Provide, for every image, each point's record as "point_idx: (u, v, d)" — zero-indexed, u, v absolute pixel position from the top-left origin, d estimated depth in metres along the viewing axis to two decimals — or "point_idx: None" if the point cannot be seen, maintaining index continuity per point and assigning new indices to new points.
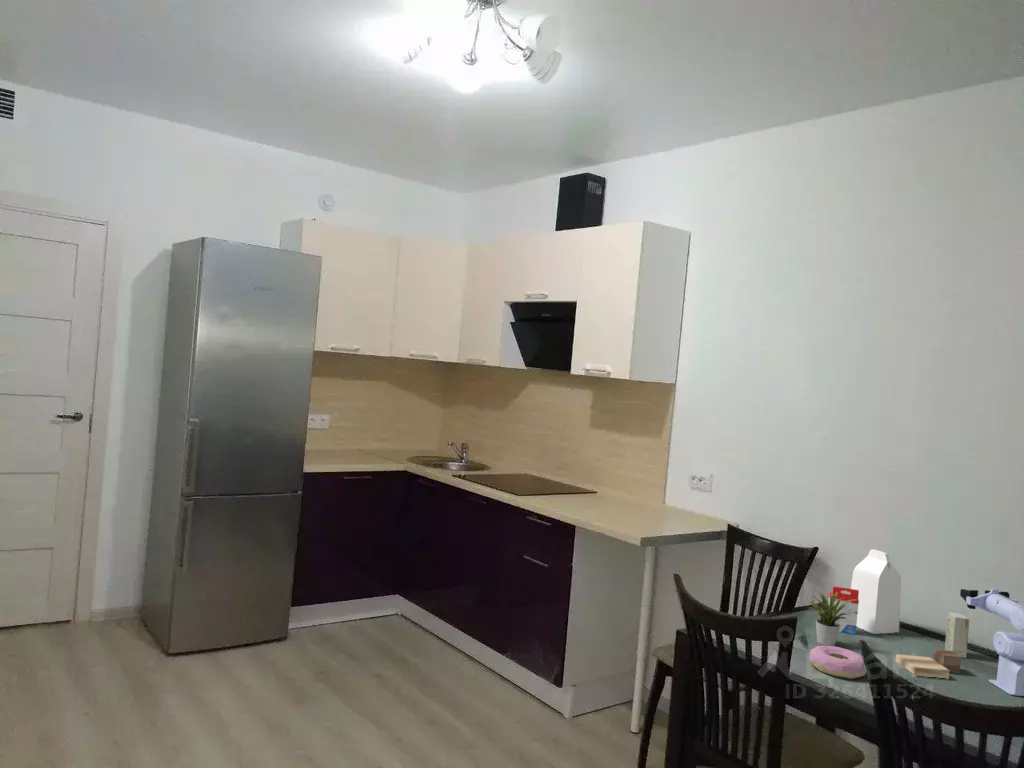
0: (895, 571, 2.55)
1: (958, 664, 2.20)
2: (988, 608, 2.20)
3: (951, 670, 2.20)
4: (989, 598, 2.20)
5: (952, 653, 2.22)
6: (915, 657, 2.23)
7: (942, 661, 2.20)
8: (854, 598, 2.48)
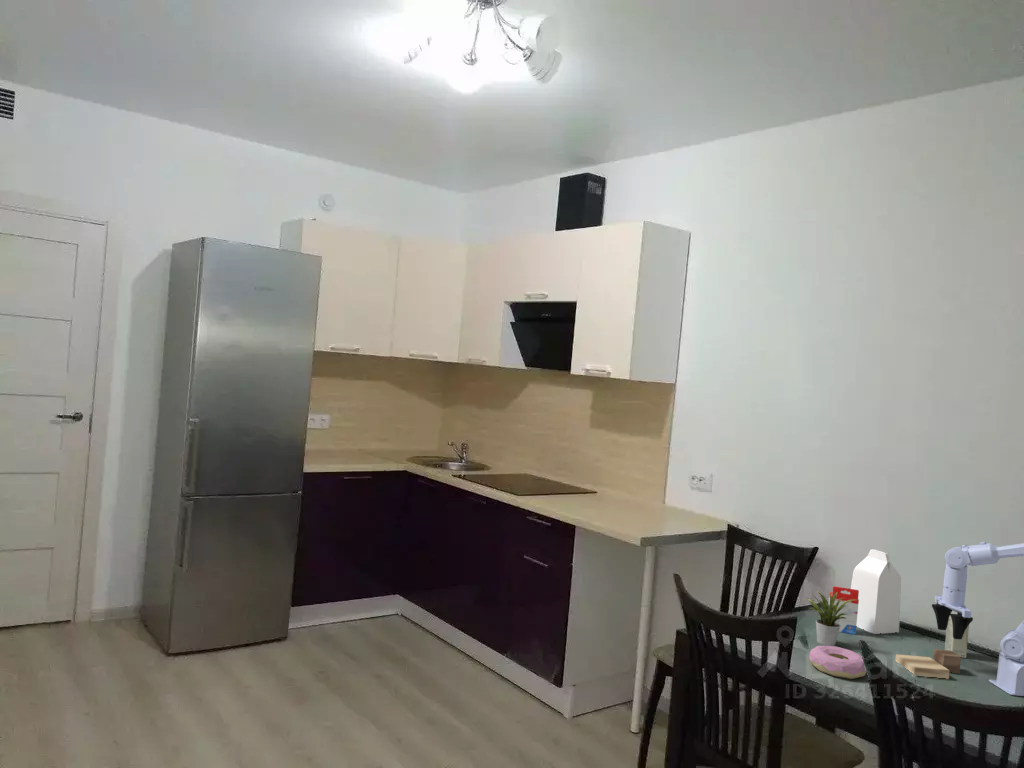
0: (895, 571, 2.55)
1: (958, 664, 2.20)
2: (962, 602, 2.19)
3: (951, 670, 2.20)
4: (952, 601, 2.20)
5: (952, 653, 2.22)
6: (915, 657, 2.23)
7: (942, 661, 2.20)
8: (854, 598, 2.48)
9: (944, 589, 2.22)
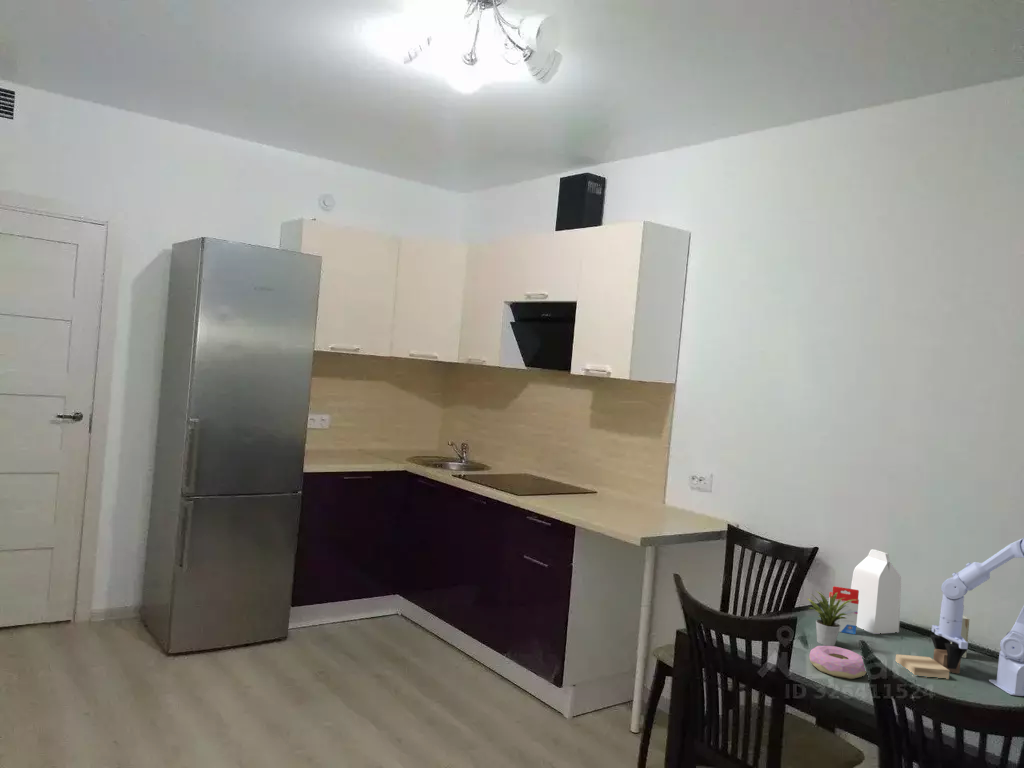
0: (895, 571, 2.55)
1: (958, 664, 2.20)
2: (959, 632, 2.20)
3: (951, 670, 2.20)
4: (949, 632, 2.20)
5: None
6: (915, 657, 2.23)
7: (942, 661, 2.20)
8: (854, 598, 2.48)
9: (941, 619, 2.22)
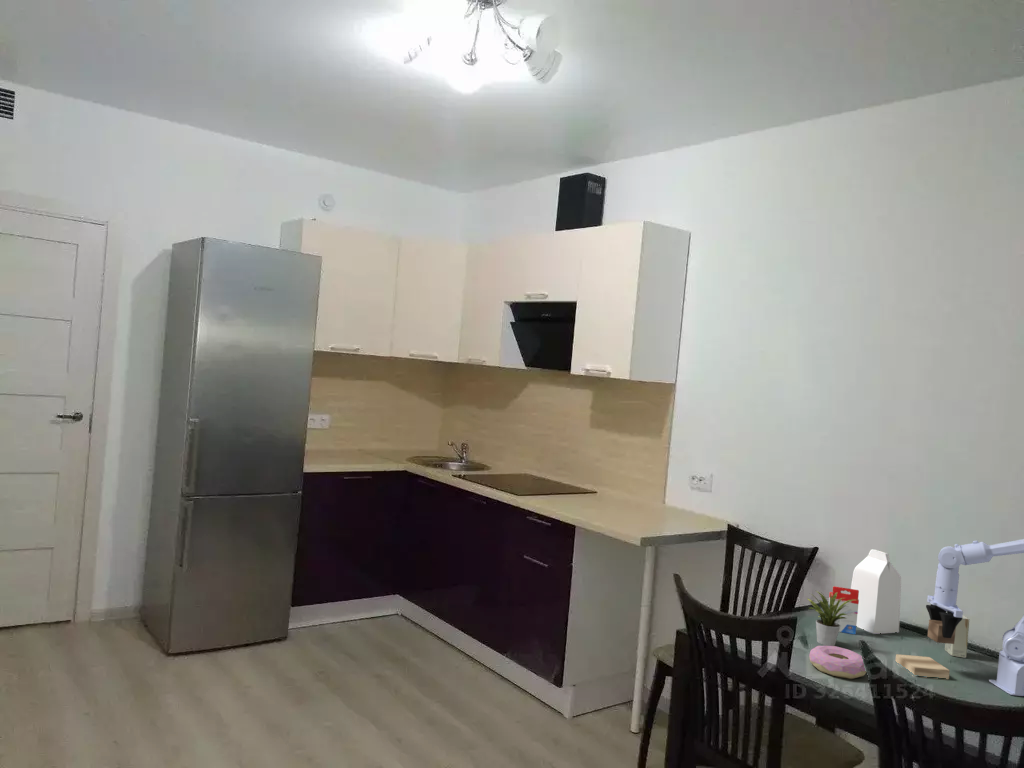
0: (895, 571, 2.55)
1: (953, 634, 2.19)
2: (954, 601, 2.19)
3: (946, 640, 2.19)
4: (944, 601, 2.19)
5: None
6: (915, 657, 2.23)
7: (937, 631, 2.19)
8: (854, 598, 2.48)
9: (936, 589, 2.21)
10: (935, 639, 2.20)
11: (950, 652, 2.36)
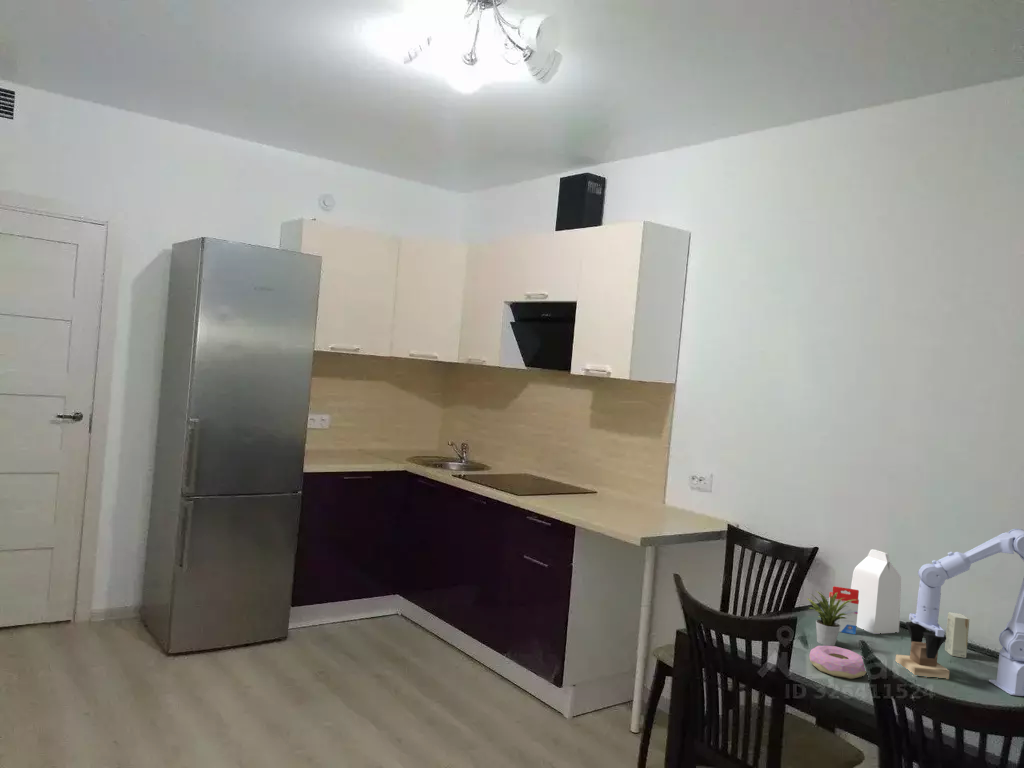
0: (895, 571, 2.55)
1: None
2: (936, 620, 2.16)
3: (928, 663, 2.17)
4: (926, 620, 2.16)
5: None
6: None
7: (919, 653, 2.17)
8: (854, 598, 2.48)
9: (918, 607, 2.19)
10: (917, 661, 2.17)
11: (950, 652, 2.36)
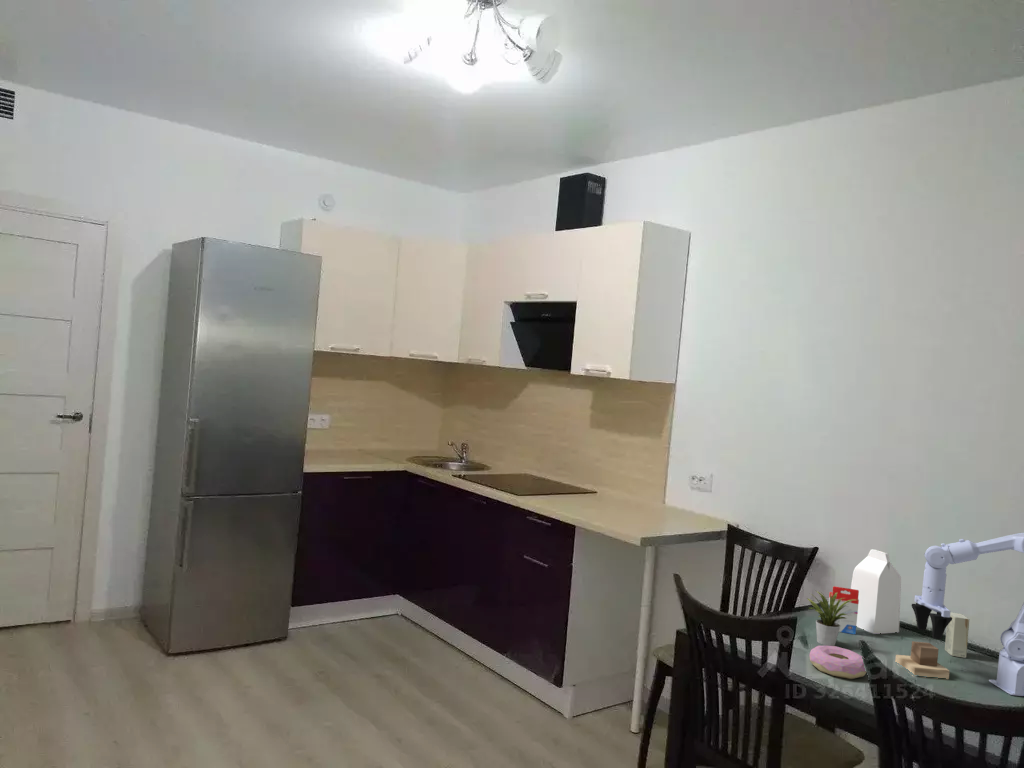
0: (895, 571, 2.55)
1: (935, 656, 2.17)
2: (942, 601, 2.18)
3: (928, 662, 2.17)
4: (931, 601, 2.18)
5: (930, 645, 2.19)
6: None
7: (919, 653, 2.17)
8: (854, 598, 2.48)
9: (923, 589, 2.20)
10: (917, 661, 2.18)
11: (950, 652, 2.36)
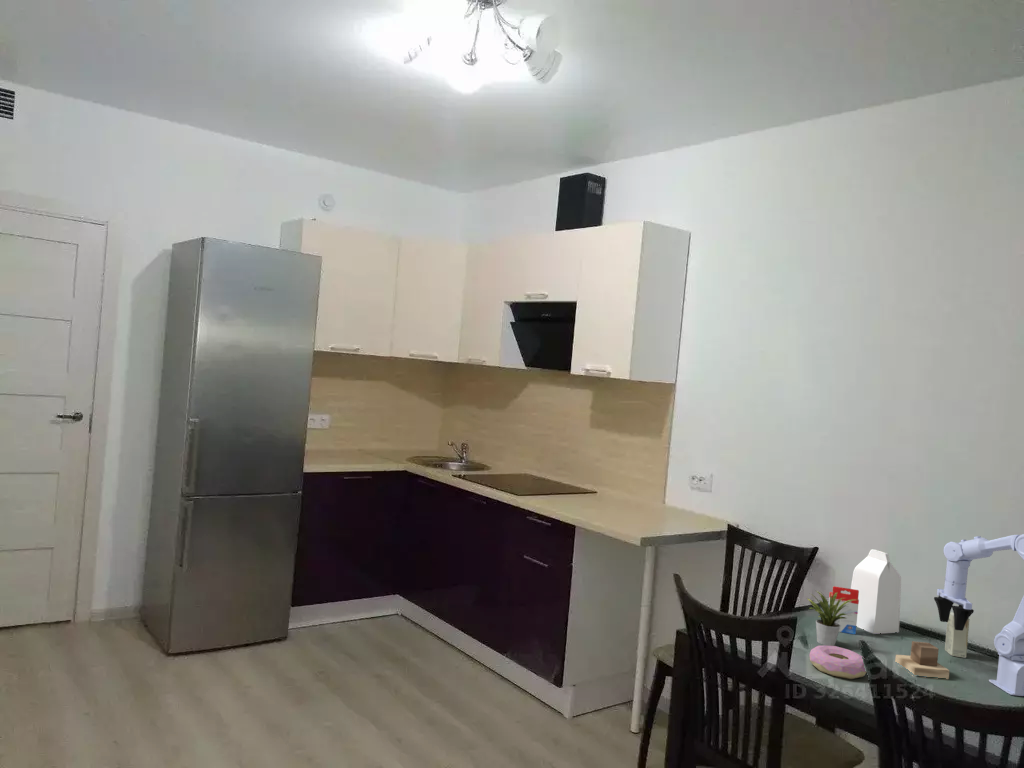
0: (895, 571, 2.55)
1: (936, 656, 2.17)
2: (963, 594, 2.29)
3: (928, 662, 2.17)
4: (954, 594, 2.29)
5: (930, 645, 2.19)
6: None
7: (919, 653, 2.17)
8: (854, 598, 2.48)
9: (946, 582, 2.31)
10: (918, 661, 2.18)
11: (950, 652, 2.36)
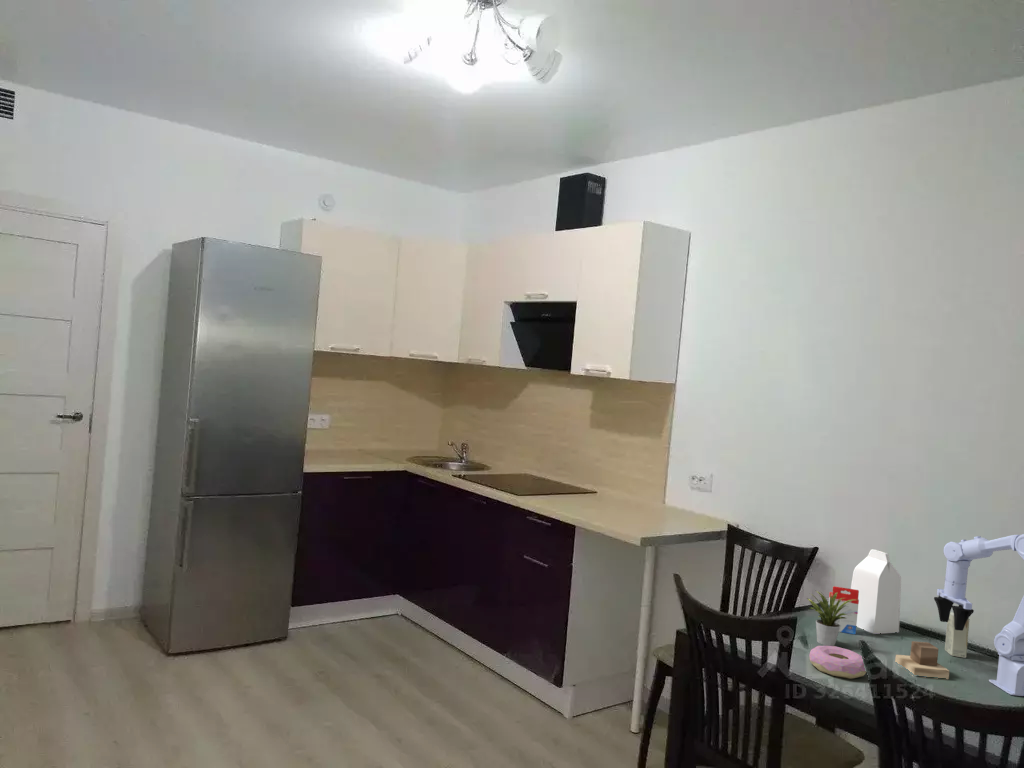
0: (895, 571, 2.55)
1: (935, 656, 2.17)
2: (963, 594, 2.29)
3: (928, 662, 2.17)
4: (954, 594, 2.29)
5: (929, 645, 2.19)
6: None
7: (919, 653, 2.17)
8: (854, 598, 2.48)
9: (946, 582, 2.31)
10: (918, 661, 2.18)
11: (950, 652, 2.36)
